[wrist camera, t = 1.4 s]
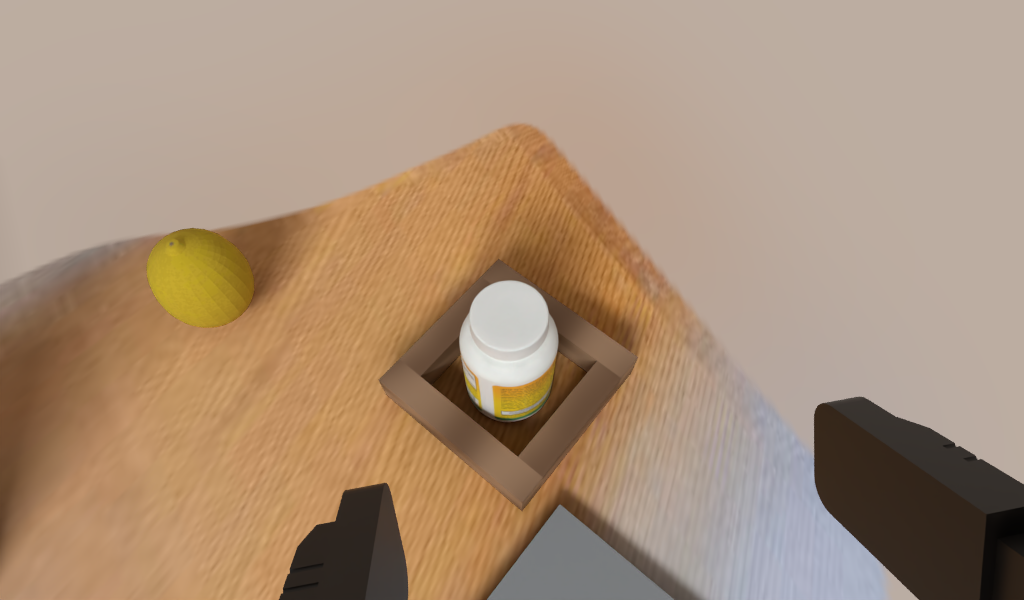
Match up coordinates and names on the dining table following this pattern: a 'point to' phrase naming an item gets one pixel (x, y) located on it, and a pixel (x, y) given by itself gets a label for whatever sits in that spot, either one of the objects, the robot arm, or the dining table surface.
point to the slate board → (573, 568)
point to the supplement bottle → (508, 351)
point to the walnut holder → (473, 442)
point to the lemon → (200, 278)
